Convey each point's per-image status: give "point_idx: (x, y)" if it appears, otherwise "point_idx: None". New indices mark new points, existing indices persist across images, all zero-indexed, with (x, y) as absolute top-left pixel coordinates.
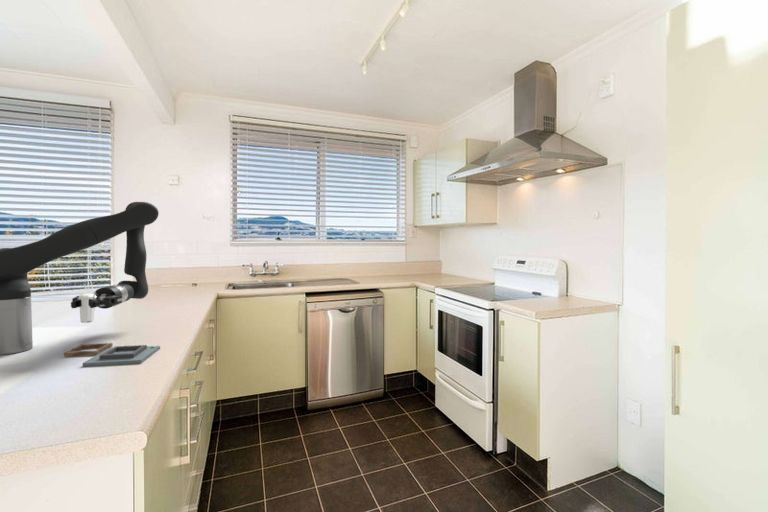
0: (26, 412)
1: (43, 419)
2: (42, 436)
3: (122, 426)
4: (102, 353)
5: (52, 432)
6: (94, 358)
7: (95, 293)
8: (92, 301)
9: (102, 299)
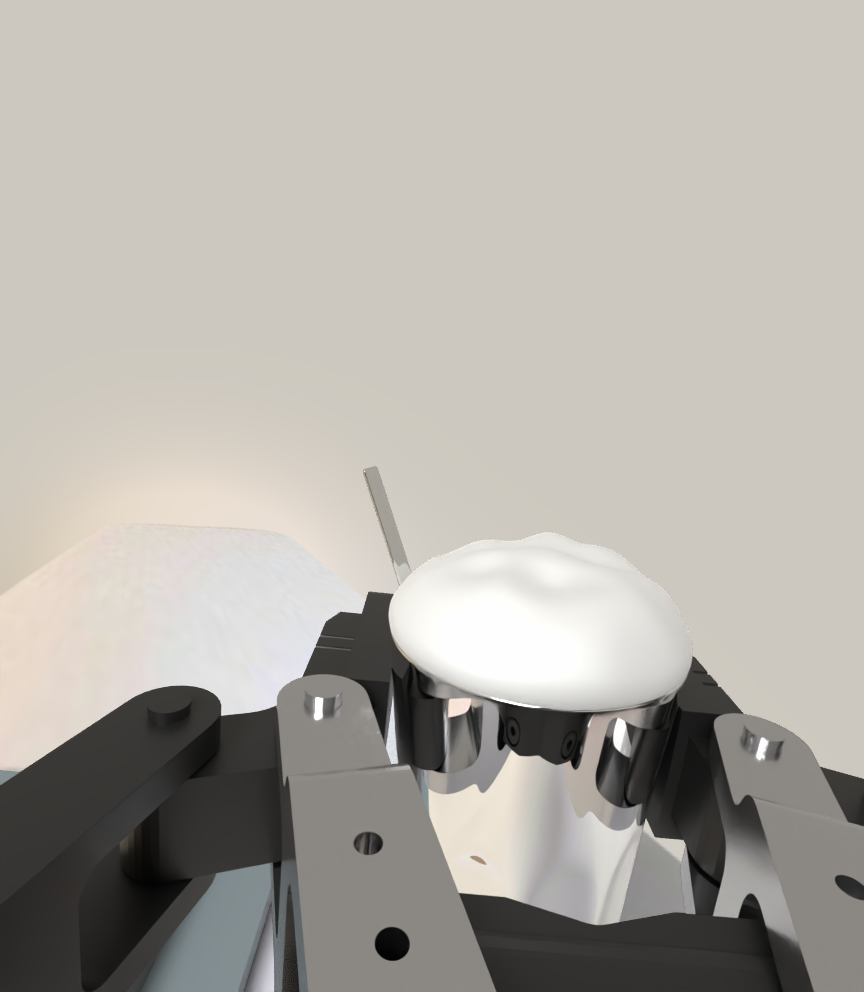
0: (318, 587)
1: (271, 566)
2: (251, 540)
3: (131, 530)
4: (211, 987)
5: (239, 543)
6: (250, 867)
7: (373, 501)
8: (374, 592)
9: (285, 702)
